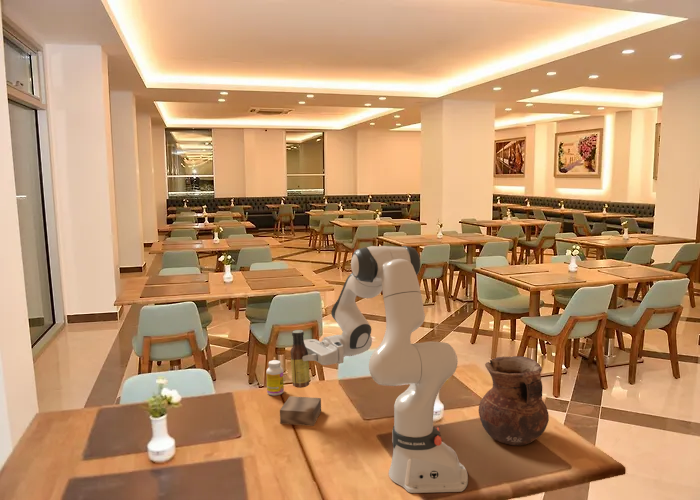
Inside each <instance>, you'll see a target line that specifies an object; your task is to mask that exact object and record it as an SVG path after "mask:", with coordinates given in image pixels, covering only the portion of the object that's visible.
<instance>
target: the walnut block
mask: <svg viewBox="0 0 700 500" xmlns="http://www.w3.org/2000/svg"><path fill="white" fill-rule="evenodd" d="M321 413H322V398H320V397H310V396H309V397H307V396H292V395H291V396H288V398H287V399H286V401H285V402H284V403H283V405H282V406H281V407H280V410H279V416H280V417H279V419H280V420H279V421H280V424H281V425H282V424H283V425H297V426H299V425H300V426H310V427H311V426H312V427H313V426H315V424H316V421H317V420H318V417H319V416H320V415H321Z"/></svg>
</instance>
